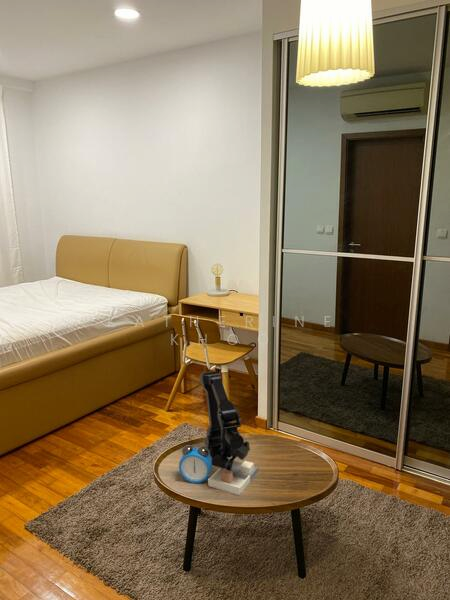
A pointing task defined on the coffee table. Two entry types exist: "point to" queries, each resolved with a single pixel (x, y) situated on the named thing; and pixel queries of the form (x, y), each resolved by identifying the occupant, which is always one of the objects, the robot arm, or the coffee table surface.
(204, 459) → the alarm clock
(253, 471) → the slate plate
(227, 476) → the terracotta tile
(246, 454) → the robot arm
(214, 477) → the tray
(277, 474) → the coffee table surface
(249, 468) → the cream block
